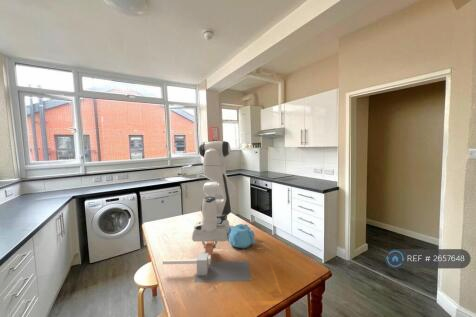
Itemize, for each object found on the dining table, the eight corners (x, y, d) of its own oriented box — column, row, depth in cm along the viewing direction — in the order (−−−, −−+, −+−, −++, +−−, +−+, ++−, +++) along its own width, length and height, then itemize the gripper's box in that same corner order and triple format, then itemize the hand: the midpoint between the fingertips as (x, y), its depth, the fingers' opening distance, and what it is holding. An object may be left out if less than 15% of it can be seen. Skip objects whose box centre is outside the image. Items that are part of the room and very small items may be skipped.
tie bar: (164, 261, 99) (164, 256, 99) (210, 260, 100) (210, 255, 100) (162, 265, 96) (162, 259, 96) (210, 264, 97) (210, 258, 97)
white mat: (200, 250, 120) (200, 249, 120) (222, 250, 121) (222, 249, 121) (196, 262, 108) (196, 261, 107) (221, 262, 108) (221, 261, 108)
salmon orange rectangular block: (207, 245, 118) (207, 239, 118) (214, 245, 118) (214, 239, 118) (205, 254, 108) (205, 247, 108) (212, 254, 108) (212, 247, 108)
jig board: (199, 263, 107) (199, 248, 106) (248, 262, 107) (248, 247, 107) (194, 284, 91) (193, 266, 90) (250, 282, 91) (250, 264, 91)
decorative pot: (230, 252, 119) (230, 230, 118) (227, 240, 135) (227, 221, 134) (256, 249, 122) (256, 228, 121) (250, 238, 137) (250, 219, 137)
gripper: (227, 222, 116) (227, 245, 117) (193, 223, 116) (194, 245, 116) (227, 226, 110) (227, 250, 110) (191, 227, 109) (191, 250, 110)
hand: (209, 247), depth 113 cm, fingers closed on salmon orange rectangular block, 4 cm apart
